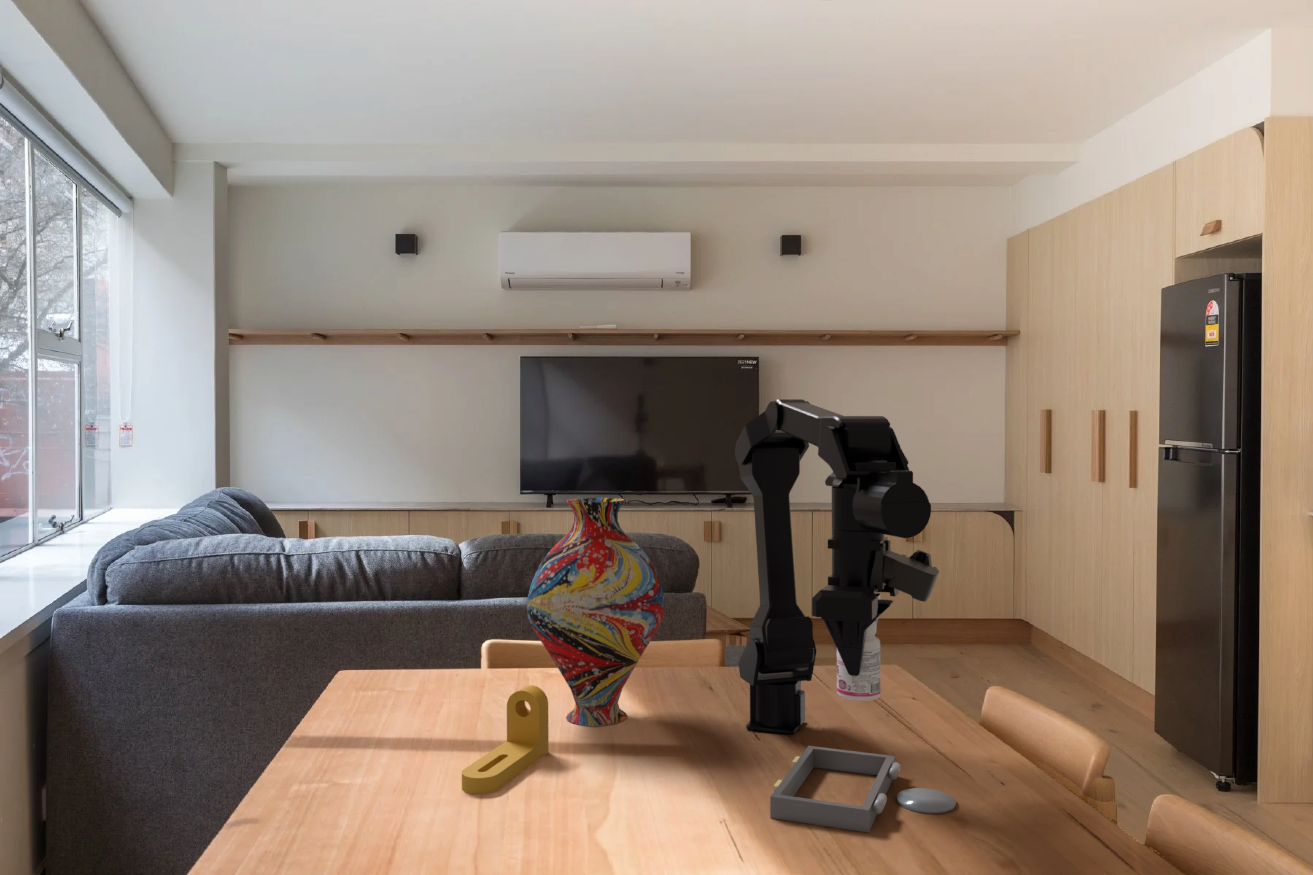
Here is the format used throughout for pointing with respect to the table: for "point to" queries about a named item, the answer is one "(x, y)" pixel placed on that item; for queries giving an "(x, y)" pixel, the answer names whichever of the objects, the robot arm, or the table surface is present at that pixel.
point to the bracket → (513, 744)
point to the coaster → (926, 800)
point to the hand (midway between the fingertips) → (858, 669)
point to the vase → (596, 608)
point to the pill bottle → (862, 672)
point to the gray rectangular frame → (831, 812)
